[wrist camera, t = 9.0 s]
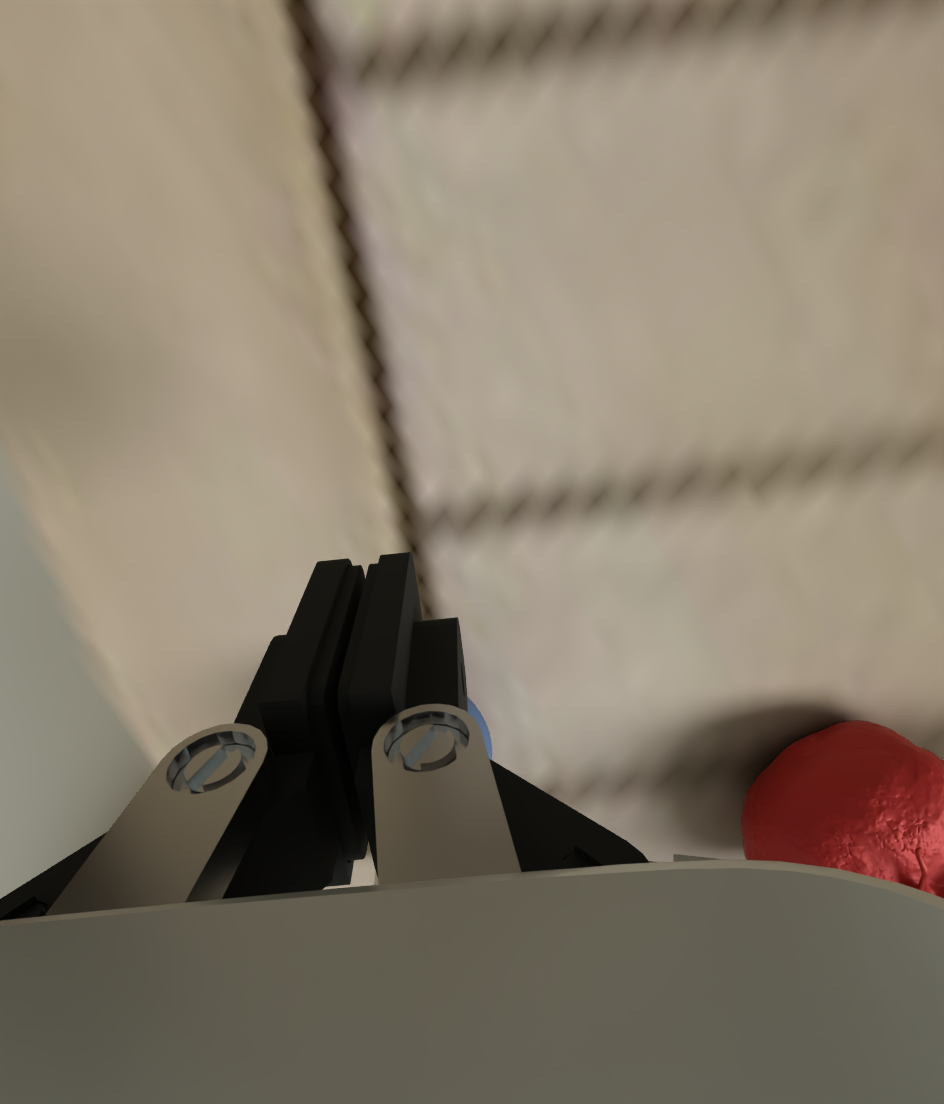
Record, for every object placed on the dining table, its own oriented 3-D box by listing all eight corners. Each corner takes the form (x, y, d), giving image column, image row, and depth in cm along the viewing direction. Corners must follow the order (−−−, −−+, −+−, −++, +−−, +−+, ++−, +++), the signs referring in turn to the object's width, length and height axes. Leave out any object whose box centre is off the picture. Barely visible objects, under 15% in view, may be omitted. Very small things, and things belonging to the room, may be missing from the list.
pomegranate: (679, 774, 31) (765, 962, 22) (869, 660, 29) (1045, 822, 20) (778, 885, 34) (886, 1088, 26) (956, 791, 32) (1141, 979, 23)
